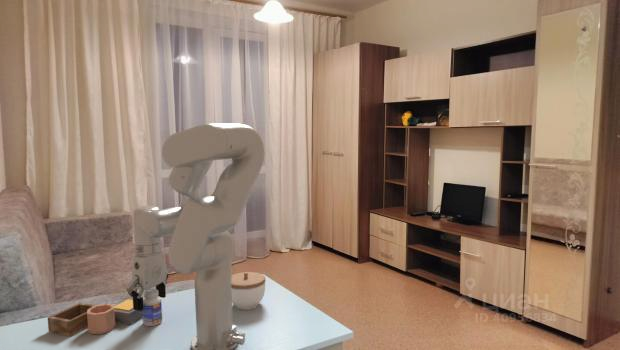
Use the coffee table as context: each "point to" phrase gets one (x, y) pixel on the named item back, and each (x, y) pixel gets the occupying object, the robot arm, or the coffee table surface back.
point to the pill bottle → (152, 308)
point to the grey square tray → (127, 315)
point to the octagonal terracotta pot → (101, 318)
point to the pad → (125, 306)
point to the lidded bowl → (247, 289)
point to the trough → (70, 320)
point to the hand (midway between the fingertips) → (150, 303)
